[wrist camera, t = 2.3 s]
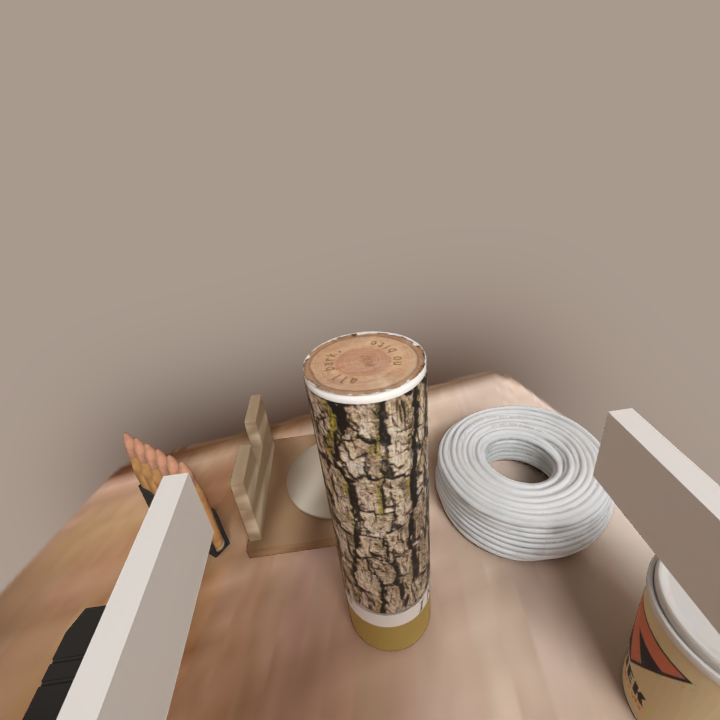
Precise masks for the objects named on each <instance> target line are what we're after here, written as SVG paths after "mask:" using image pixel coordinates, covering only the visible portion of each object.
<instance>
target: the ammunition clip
mask: <svg viewBox="0 0 720 720" xmlns="http://www.w3.org/2000/svg"><path fill="white" fill-rule="evenodd" d="M123 439H124V445H125V448H126V451H127V453H128V455H129V458H130V460H131V463H132V468H133V470H134V472H135V474H136V476H137V478H138V480H139V482H140V485H139V488H140V490H141V492H142V494H143V496H144V498H145V500H146V502H147V504H148V507H149V508H150V505H151V503H152V501H153V498H154V496H155V494H156V492H157V489H158V487H159V485H160V483H161V480H162V478H163V476H168V475H175V474H182V473H189V475H190V477H191V479H192V482H193V484H194V486H195V489H196V491H197V493H198V496H199V498H200V500H201V503H202V505H203V507H204V510H205V512H206V514H207V516H208V519H209V521H210V523H211V526H212V528H213V530H214V534H213V538H212V542H211V546H210V550H209V554H211V555H212V556H214V557H217V556H218V555H219V554H220V553H221V552H222V551H223V550H224V549H225V548H226V547H227V546H228V545H229V544H230V543H229V541H228V538H227V536H226V534H225V532H224V529H223V527H222V525H221V522H220V520H219V518H218V515H217V513H216V511H215V509H213V508H211V507H210V505H209V502H208V500H207V498H206V495H205V493H204V491H203V490H202V488H201V487H200V486H199V484H198V482H197V480H196V478H195V476H194V474H193V472H192V471H191V469H190V468H189V467H188V466H187V464H186V463H184V462H183V461H180V462H179V463H178V462H177V460H176V459H175V458H174V457H173V456H171V455H168V456H166V455H165V454H164V453H163V452H162V451H161V450H159V449H156V451H155V449H154V448H153V447H152V446H151V445H149V444H148V443H145V445H144V444H143V443H142V442H141V440H139V439H138V438H134V439H133V438H132V436H131V435H129V434H128V433H126V432H125V433H124V435H123Z"/></svg>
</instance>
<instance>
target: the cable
mask: <svg viewBox="0 0 720 720" xmlns="http://www.w3.org/2000/svg"><path fill="white" fill-rule="evenodd" d="M599 448H600V443H599V442H598V441H597V440H596V438H595V437H594V436H593V435H591V434H590V433H589V432H588V431H587V430H586V429H584V428H583V427H582V426H580V425H579V424H577V423H575V422H574V421H572V420H570V419H568V418H567V417H564V416H562V415H560V414H558V413H555V412H552V411H549V410H546V409H542V408H538V407H530V406H501V407H493V408H488V409H485V410H481V411H478V412H475V413H473V414H471V415H468V416H467V417H465V418H463V419H461V420H459V421H458V422H456V423H455V424H453V425H452V426H451V427H450V428H449V429H448V430H447V431H446V433H445V434H444V436H443V437H442V439H441V442H440V444H439V449H438V461H437V466H436V471H435V477H436V479H435V482H436V489H437V492H438V495H439V497H440V499H441V502H442V505H443V508H444V510H445V512H446V514H447V516H448V517H449V519H450V520H451V522H452V523H453V524H454V526H455V527H456V528H457V529H458V530H459V531H460V532H461V533H462V534H463V535H464V536H465V537H466V538H467V539H469V540H470V541H471V542H473V543H474V544H476V545H477V546H479V547H481V548H482V549H484V550H486V551H488V552H490V553H492V554H495V555H497V556H500V557H503V558H507V559H511V560H517V561H538V560H547V559H556V558H562V557H566V556H569V555H572V554H575V553H577V552H579V551H581V550H583V549H585V548H586V547H588V546H589V545H591V544H592V543H593V542H594V541H595V540H596V539H597V538H598V537H599V536H600V535H601V533H602V532H603V531H604V529H605V528H606V526H607V524H608V523H609V521H610V518H611V516H612V513H613V509H614V501H613V500H612V499H611V498H610V496H609V495H608V494H607V492H606V491H605V490H604V489H603V487H602V486H601V485H600V484H599V482H598V481H597V480H596V479H595V477H594V476H593V472H594V468H595V464H596V460H597V456H598V452H599ZM502 459H509V460H516V461H521V462H524V463H527V464H530V465H532V466H534V467H536V468H538V469H539V470H541V471H543V472H544V473H545V474H546V475H547V476H548V477H549V478H548V479H547V480H545V481H543V482H539V483H532V484H531V483H524V482H518V481H515V480H512V479H509V478H507V477H505V476H503V475H501V474H500V473H498V472H497V471H496V470H494V469H493V468H492V467H491V466H490V465H489V464H490V463H491V462H493V461H496V460H502Z"/></svg>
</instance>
